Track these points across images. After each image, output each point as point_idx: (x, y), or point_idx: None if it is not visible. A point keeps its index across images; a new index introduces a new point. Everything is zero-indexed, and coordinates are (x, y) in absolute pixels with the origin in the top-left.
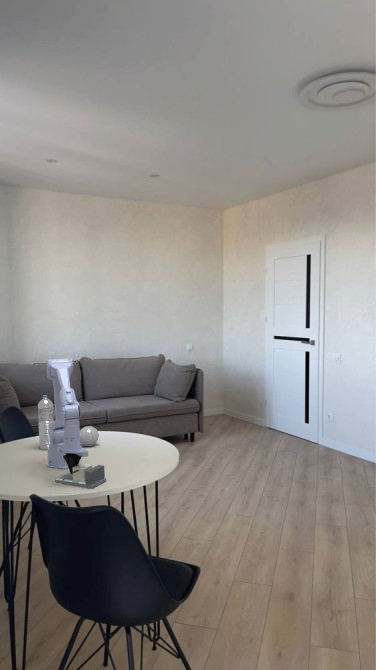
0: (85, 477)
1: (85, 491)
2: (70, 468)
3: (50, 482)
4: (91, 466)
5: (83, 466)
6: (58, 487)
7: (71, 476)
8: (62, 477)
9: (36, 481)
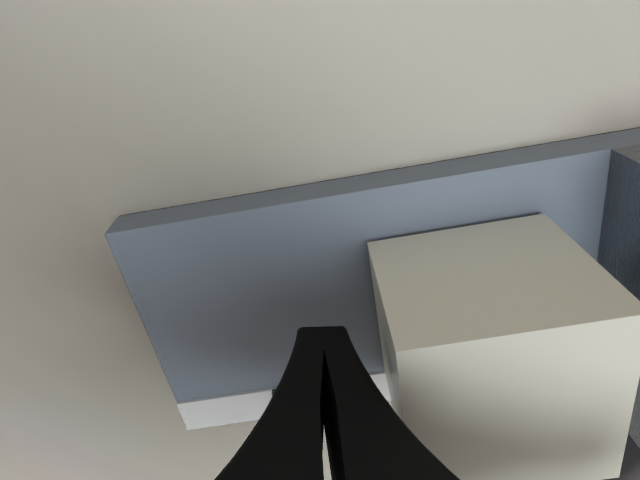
0: (630, 429)
1: None
2: (330, 457)
3: (148, 413)
4: (635, 318)
5: (540, 418)
6: (325, 442)
7: (254, 301)
8: (196, 364)
9: (18, 452)
